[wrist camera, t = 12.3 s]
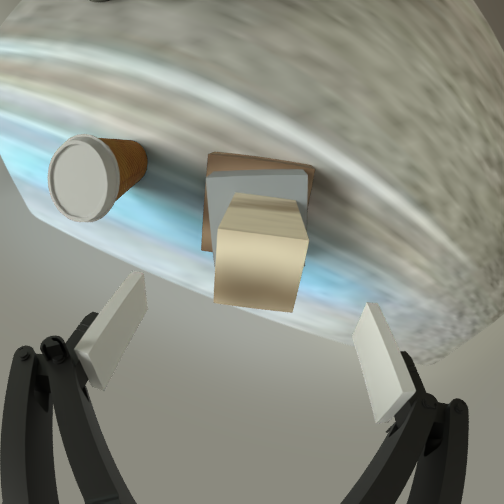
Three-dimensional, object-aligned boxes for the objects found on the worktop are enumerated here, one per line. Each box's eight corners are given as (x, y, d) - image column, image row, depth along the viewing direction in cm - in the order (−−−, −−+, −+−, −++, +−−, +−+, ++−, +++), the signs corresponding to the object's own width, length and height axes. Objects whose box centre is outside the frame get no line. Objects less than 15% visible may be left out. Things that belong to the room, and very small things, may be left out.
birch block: (235, 192, 27) (217, 228, 18) (295, 200, 27) (309, 240, 18) (230, 246, 29) (213, 302, 20) (286, 254, 29) (292, 312, 20)
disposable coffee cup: (90, 168, 33) (35, 189, 23) (124, 115, 30) (68, 117, 19) (133, 208, 36) (87, 243, 25) (172, 157, 33) (128, 174, 22)
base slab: (215, 151, 33) (208, 154, 29) (309, 164, 33) (315, 169, 29) (207, 238, 38) (201, 250, 34) (293, 250, 38) (295, 263, 34)
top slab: (213, 171, 30) (205, 177, 26) (302, 169, 29) (307, 175, 26) (220, 251, 34) (214, 267, 31) (301, 250, 33) (304, 266, 30)
